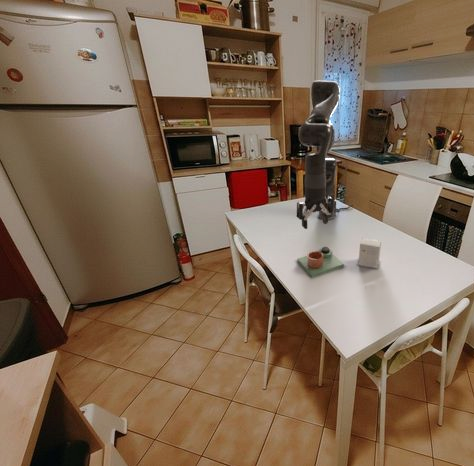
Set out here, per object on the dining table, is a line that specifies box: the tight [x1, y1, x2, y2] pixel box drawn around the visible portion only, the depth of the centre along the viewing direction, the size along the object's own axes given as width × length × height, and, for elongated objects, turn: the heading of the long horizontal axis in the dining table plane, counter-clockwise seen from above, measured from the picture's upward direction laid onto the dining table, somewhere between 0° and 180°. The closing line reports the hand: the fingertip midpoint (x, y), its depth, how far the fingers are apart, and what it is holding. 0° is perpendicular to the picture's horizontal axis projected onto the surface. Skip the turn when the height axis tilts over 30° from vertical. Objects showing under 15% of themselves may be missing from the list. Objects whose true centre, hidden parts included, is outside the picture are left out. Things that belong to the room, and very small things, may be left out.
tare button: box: [321, 246, 330, 254], centre depth 114 cm, size 3×3×2 cm
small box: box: [357, 237, 382, 269], centre depth 109 cm, size 8×6×10 cm
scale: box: [297, 247, 345, 278], centre depth 110 cm, size 15×13×3 cm
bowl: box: [306, 250, 323, 268], centre depth 107 cm, size 6×6×4 cm
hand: (315, 225), depth 100 cm, fingers open, 8 cm apart
